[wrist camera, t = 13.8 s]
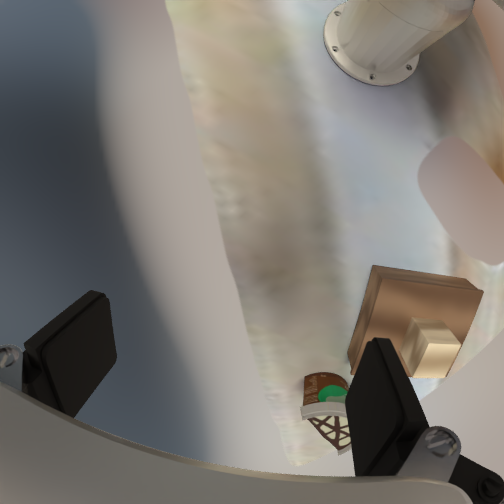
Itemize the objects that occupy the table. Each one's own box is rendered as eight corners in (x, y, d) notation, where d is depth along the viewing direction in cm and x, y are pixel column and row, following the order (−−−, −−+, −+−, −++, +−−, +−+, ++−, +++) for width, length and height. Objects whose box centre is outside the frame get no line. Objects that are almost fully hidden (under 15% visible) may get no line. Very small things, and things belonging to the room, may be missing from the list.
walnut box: (371, 263, 37) (382, 278, 32) (466, 277, 36) (483, 291, 31) (345, 353, 42) (350, 374, 37) (435, 357, 41) (446, 376, 36)
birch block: (411, 317, 33) (428, 343, 28) (442, 320, 33) (461, 344, 27) (398, 349, 35) (412, 377, 29) (428, 351, 35) (444, 377, 29)
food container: (366, 398, 44) (376, 441, 35) (334, 412, 46) (339, 456, 36) (335, 353, 42) (343, 399, 32) (299, 370, 44) (300, 418, 34)
